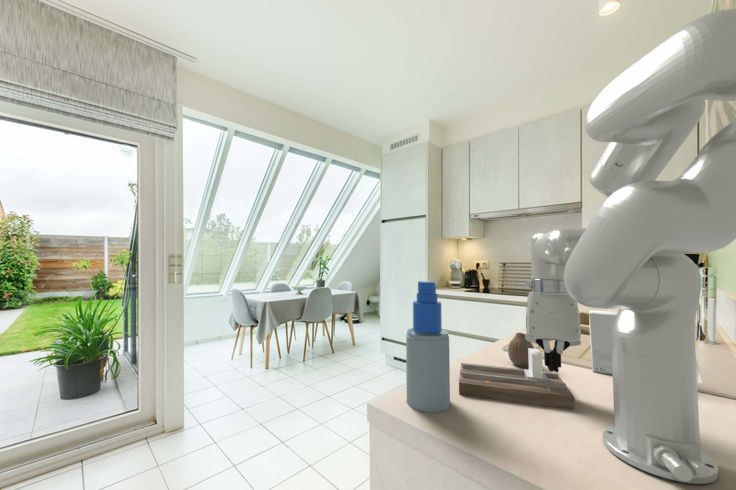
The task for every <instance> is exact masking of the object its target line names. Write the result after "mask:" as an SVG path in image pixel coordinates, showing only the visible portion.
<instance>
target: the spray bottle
mask: <svg viewBox="0 0 736 490" xmlns="http://www.w3.org/2000/svg"><path fill="white" fill-rule="evenodd" d="M442 319H443V318H442V302H441V301H439V300H438V293H437V284H436V281H422V280H421V281H420V280H419V281H417V293H416V300H414V301H412V328H408V329H407V331H406V335H405V338H406V339H405V341H406V342H405V347H406V349H405V352H406V354H405V355H406V359H405V360H406V361H405V362H406V363H405V364H406V367H405V368H406V379H405V380H406V403H407V405H408V406H409V407H411V408H412V409H414V410H417V411H420V412H425V413H439V412H444V411H446V410H447V409H449V408H450V405H451V393H450V392H451V380H450V377H451V376H450V372H451V371H450V370H451V369H450V336H449V332H448V331H447V330H446V329H443V328H442V326H443V325H442V324H443V322H442Z"/></svg>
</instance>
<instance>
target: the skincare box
mask: <svg viewBox="0 0 736 490" xmlns="http://www.w3.org/2000/svg"><path fill="white" fill-rule="evenodd" d="M588 313H589V315H588V316H589V317H588V319H589V322H588V323H589V342H590V356H591V359H590V360H591V369H592V370H591V371H592V372H595V373H600V374H605V375H610V376H611V375H612V350H611V331H612V326H613V322H614V320H615V317H616V315H617V313H618V311H612V310H611V311H610V310H609V311H608V310H593V309H592V310H589V311H588ZM612 376H613V375H612Z"/></svg>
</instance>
